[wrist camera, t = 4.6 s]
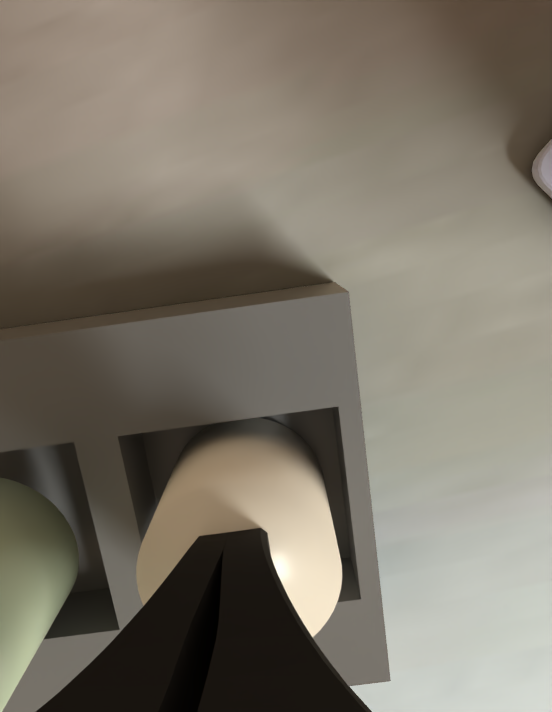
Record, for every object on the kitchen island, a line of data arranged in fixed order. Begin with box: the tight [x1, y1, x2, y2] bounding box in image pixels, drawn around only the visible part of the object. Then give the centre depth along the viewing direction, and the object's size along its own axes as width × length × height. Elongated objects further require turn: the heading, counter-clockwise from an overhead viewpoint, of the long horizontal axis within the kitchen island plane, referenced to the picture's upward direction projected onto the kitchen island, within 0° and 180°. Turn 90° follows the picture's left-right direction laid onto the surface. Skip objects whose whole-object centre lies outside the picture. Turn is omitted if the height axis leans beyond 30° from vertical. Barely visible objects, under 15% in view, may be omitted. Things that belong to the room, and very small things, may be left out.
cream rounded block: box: [136, 418, 342, 637], centre depth 12 cm, size 4×4×4 cm
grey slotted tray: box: [0, 282, 390, 712], centre depth 13 cm, size 18×10×2 cm, turn 98°
